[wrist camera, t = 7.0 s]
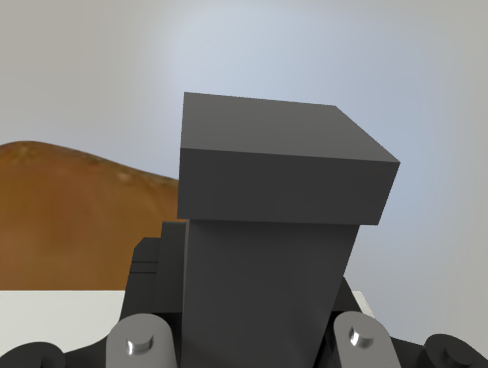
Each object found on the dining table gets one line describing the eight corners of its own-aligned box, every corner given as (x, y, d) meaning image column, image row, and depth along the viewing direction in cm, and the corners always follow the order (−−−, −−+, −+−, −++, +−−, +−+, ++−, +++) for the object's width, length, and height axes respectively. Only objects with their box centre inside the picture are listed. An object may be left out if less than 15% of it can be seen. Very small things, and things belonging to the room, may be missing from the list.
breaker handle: (263, 393, 13) (335, 105, 8) (281, 492, 11) (400, 162, 6) (169, 397, 13) (184, 92, 8) (163, 504, 10) (180, 147, 5)
